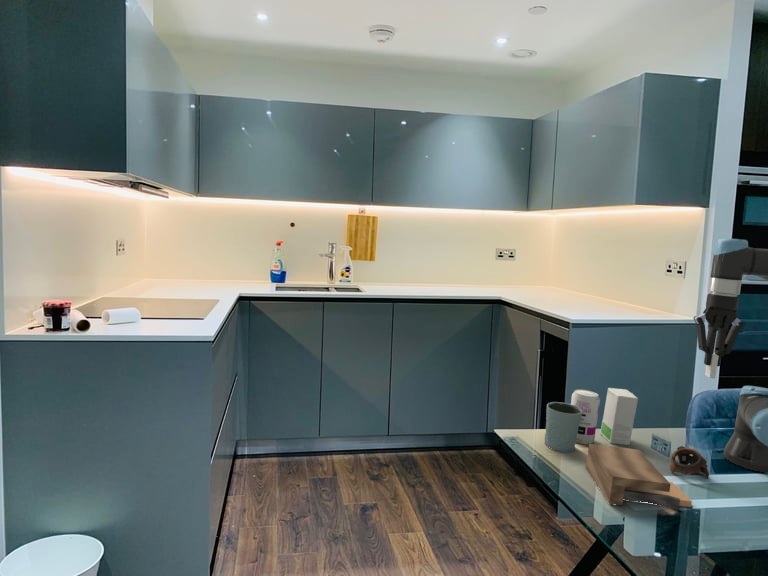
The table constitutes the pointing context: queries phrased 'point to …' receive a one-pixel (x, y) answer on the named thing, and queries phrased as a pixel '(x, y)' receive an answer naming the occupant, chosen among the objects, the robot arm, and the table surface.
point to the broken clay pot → (684, 458)
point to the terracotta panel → (668, 493)
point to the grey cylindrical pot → (562, 426)
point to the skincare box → (619, 416)
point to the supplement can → (586, 414)
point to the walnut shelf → (627, 476)
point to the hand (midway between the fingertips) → (709, 376)
